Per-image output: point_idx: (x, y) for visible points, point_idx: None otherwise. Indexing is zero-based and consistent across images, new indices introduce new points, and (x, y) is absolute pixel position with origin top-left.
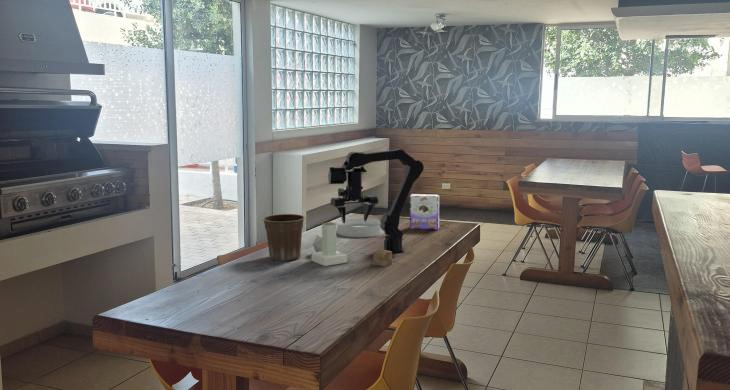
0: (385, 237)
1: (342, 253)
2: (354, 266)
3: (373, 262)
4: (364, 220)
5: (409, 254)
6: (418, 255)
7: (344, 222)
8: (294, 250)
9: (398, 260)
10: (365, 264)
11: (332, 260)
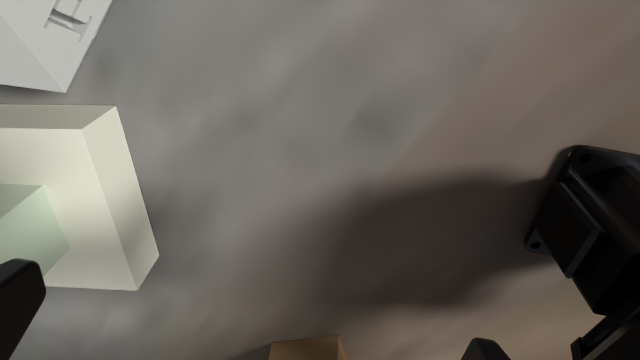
0: (622, 255)
1: (116, 254)
2: (166, 324)
3: (270, 352)
4: (470, 355)
5: None
6: None
7: (29, 304)
8: None
9: (432, 357)
10: (235, 326)
11: None
